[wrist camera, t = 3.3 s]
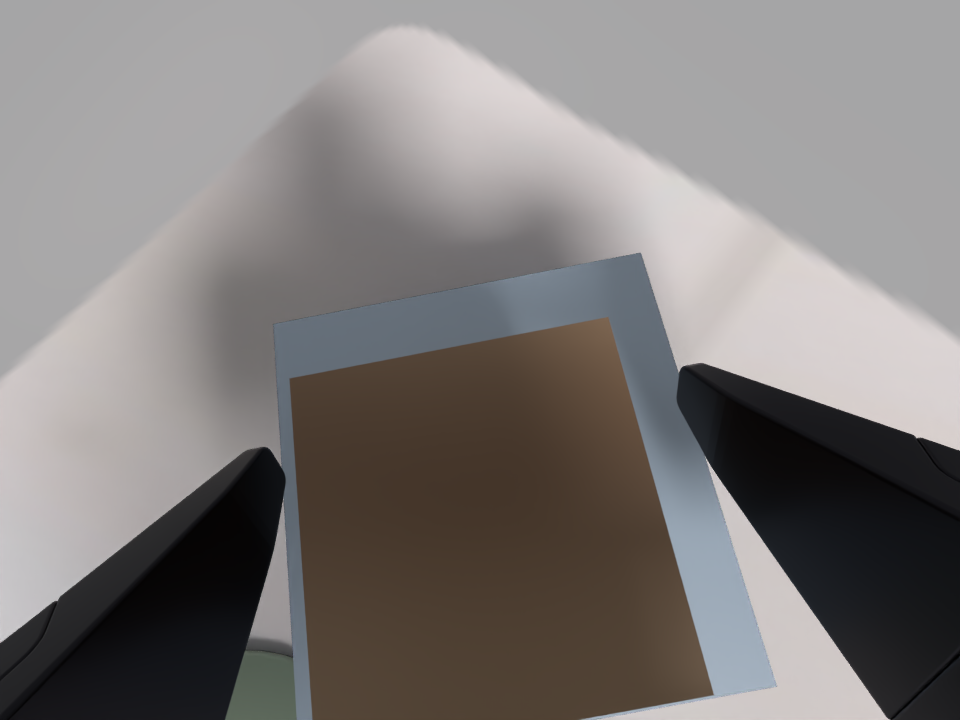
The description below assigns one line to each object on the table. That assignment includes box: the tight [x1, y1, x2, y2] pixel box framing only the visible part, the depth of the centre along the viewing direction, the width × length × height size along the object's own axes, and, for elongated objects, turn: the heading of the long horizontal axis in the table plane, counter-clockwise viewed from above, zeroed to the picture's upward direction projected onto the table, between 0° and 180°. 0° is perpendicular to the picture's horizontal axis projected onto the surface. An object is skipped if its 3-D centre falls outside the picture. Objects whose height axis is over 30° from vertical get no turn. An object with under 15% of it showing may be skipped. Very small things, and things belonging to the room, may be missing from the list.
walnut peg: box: [289, 317, 714, 720], centre depth 9 cm, size 4×4×9 cm
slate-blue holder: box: [273, 253, 777, 720], centre depth 13 cm, size 11×11×5 cm
